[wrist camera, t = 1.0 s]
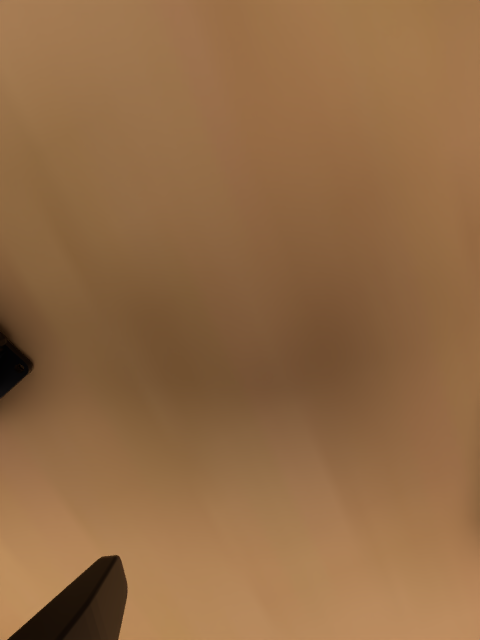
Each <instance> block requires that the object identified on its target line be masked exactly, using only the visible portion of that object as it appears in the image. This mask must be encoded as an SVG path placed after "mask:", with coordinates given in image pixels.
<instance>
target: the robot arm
mask: <svg viewBox="0 0 480 640" xmlns="http://www.w3.org/2000/svg"><path fill="white" fill-rule="evenodd" d="M18 364H20V365H22V366H23V367H24V370H22V369H20V368H19V366H18ZM31 370H32V363H31V362H30V360H29V359H28V358H27V357H25V356H24V355H23V354H22V353H21V352H20V351H19V350H18V349H17V348H16V347H15V346H14V345H13V344H11V343H10V342H9V341H8V340H7V339H6V337H5V336H4V335H3V334H2V333H1V332H0V399H1V398H2V397H3V396H4V395H5V394H6V393H7V392H8V391H10V390H11V389H12V388H13V387H14V386H15V385H16V384H17V383H19V382H20V381H21V380H22V379H23V378H24V377H25V376H26V375H28V374H29V373H30V372H31ZM126 599H127V581H126V577H125V573H124V569H123V565H122V561H121V559H120V557H119V556H117V555H114V556H104V557H101V558H99V559H98V560H97V561H96V562H95V563H93V564H92V565H91V566H90V567H89V568H88V569H87V570H85V571H84V572H83V573H82V574H81V575H80V576H79V577H78V578H76V579H75V580H74V581H73V582H72V583H71V584H70V585H69V586H67V587H66V588H65V589H64V590H63V591H62V592H61V593H59V594H58V595H57V596H56V597H55V598H54V599H53V600H52V601H50V602H49V603H48V604H47V605H46V606H45V607H44V608H43V609H41V610H40V611H39V612H38V613H37V614H36V615H35V616H34V617H32V618H31V619H30V620H29V621H28V622H27V623H26V624H24V625H23V626H22V627H21V628H20V629H19V630H18V631H17V632H15V633H14V634H13V635H12V636H11V637H10V638H9V639H8V640H118V638H119V633H120V628H121V624H122V619H123V614H124V609H125V604H126Z"/></svg>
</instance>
